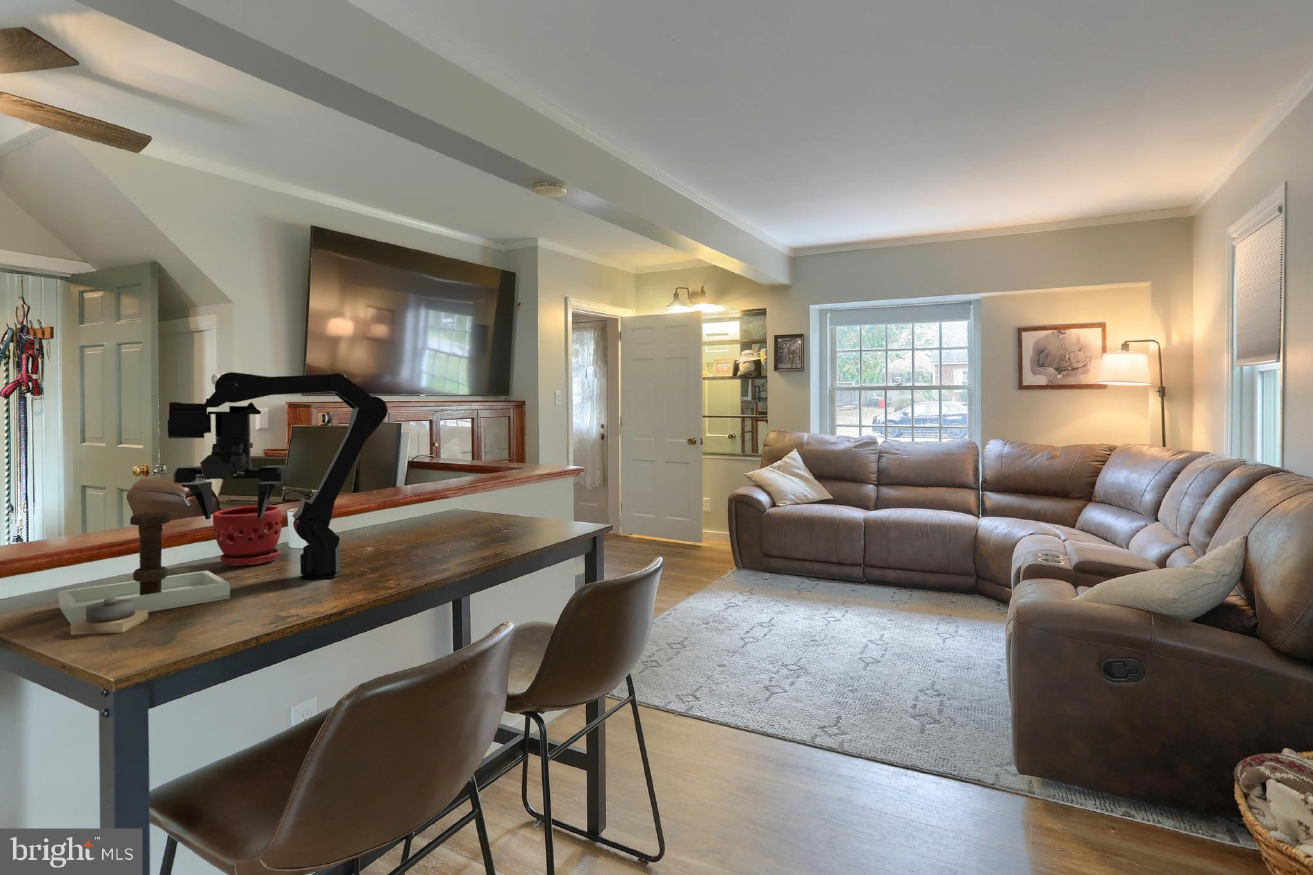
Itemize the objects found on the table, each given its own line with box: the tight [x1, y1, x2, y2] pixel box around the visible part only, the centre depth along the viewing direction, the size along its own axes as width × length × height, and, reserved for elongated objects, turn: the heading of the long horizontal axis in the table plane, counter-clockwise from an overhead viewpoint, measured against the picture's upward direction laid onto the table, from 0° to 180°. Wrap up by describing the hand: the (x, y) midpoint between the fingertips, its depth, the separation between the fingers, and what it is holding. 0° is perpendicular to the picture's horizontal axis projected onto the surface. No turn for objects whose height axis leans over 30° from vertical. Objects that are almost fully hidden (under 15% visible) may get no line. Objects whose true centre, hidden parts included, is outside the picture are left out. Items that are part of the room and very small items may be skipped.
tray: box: [58, 570, 231, 626], centre depth 122 cm, size 22×14×3 cm, turn 137°
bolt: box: [129, 512, 171, 595], centre depth 121 cm, size 6×5×15 cm
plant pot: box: [212, 505, 283, 567], centre depth 155 cm, size 13×13×12 cm
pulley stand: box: [70, 598, 149, 636], centre depth 108 cm, size 7×7×4 cm
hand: (234, 518), depth 134 cm, fingers open, 9 cm apart
